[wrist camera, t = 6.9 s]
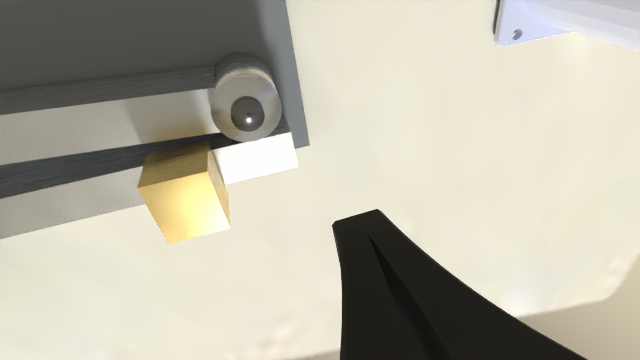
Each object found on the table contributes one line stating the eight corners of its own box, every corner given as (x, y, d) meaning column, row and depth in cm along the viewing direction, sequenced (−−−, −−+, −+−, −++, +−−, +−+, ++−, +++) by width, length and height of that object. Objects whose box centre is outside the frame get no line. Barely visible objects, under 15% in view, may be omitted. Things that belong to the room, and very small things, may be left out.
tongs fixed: (281, 105, 17) (290, 130, 15) (289, 141, 18) (298, 169, 16) (-77, 184, 15) (-123, 226, 13) (-42, 219, 16) (-79, 261, 14)
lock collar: (208, 140, 14) (207, 171, 12) (228, 194, 16) (229, 228, 14) (146, 155, 14) (137, 188, 12) (173, 208, 16) (168, 243, 14)
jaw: (267, 48, 15) (279, 77, 12) (274, 105, 17) (287, 142, 14) (-164, 97, 13) (-269, 147, 10) (-108, 159, 14) (-186, 217, 11)
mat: (249, -198, 11) (251, -202, 11) (307, 140, 19) (309, 145, 18) (-346, -124, 9) (-371, -126, 9) (-18, 216, 17) (-23, 223, 17)
